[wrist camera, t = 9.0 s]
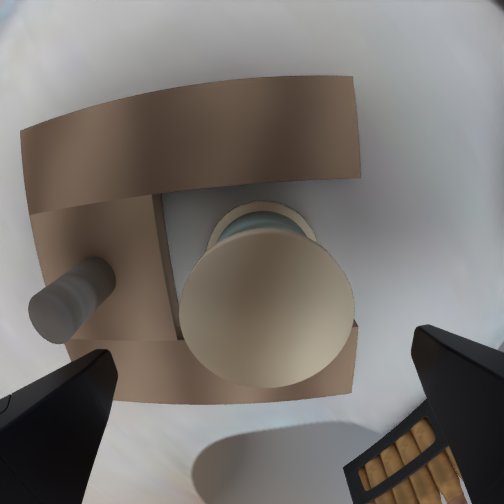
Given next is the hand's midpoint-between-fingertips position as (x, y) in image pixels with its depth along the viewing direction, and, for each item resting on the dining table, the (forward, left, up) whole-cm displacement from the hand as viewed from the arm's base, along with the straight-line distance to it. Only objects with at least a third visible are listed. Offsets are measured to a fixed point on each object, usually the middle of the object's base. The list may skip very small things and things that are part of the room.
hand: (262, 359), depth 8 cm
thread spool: (0, 0, -9) cm, 9 cm away
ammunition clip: (-10, +17, -9) cm, 22 cm away
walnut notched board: (+4, 0, -9) cm, 10 cm away
